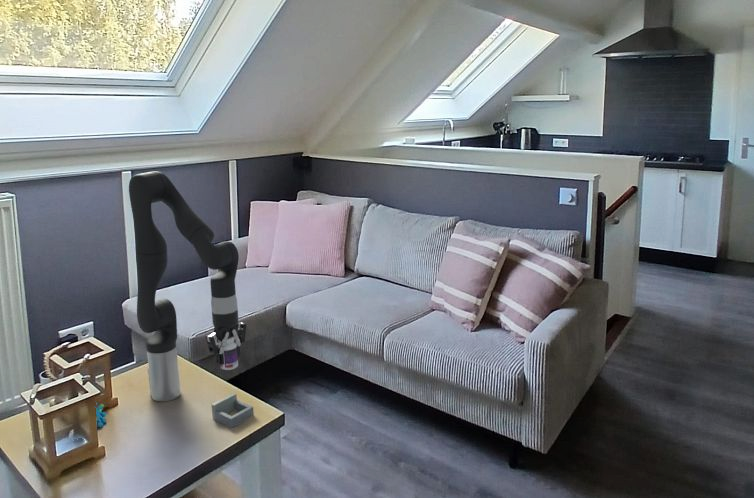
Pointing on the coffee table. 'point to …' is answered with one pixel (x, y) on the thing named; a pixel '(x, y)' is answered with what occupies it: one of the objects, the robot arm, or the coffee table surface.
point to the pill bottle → (230, 355)
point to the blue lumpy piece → (100, 415)
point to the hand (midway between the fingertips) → (228, 360)
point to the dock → (229, 405)
